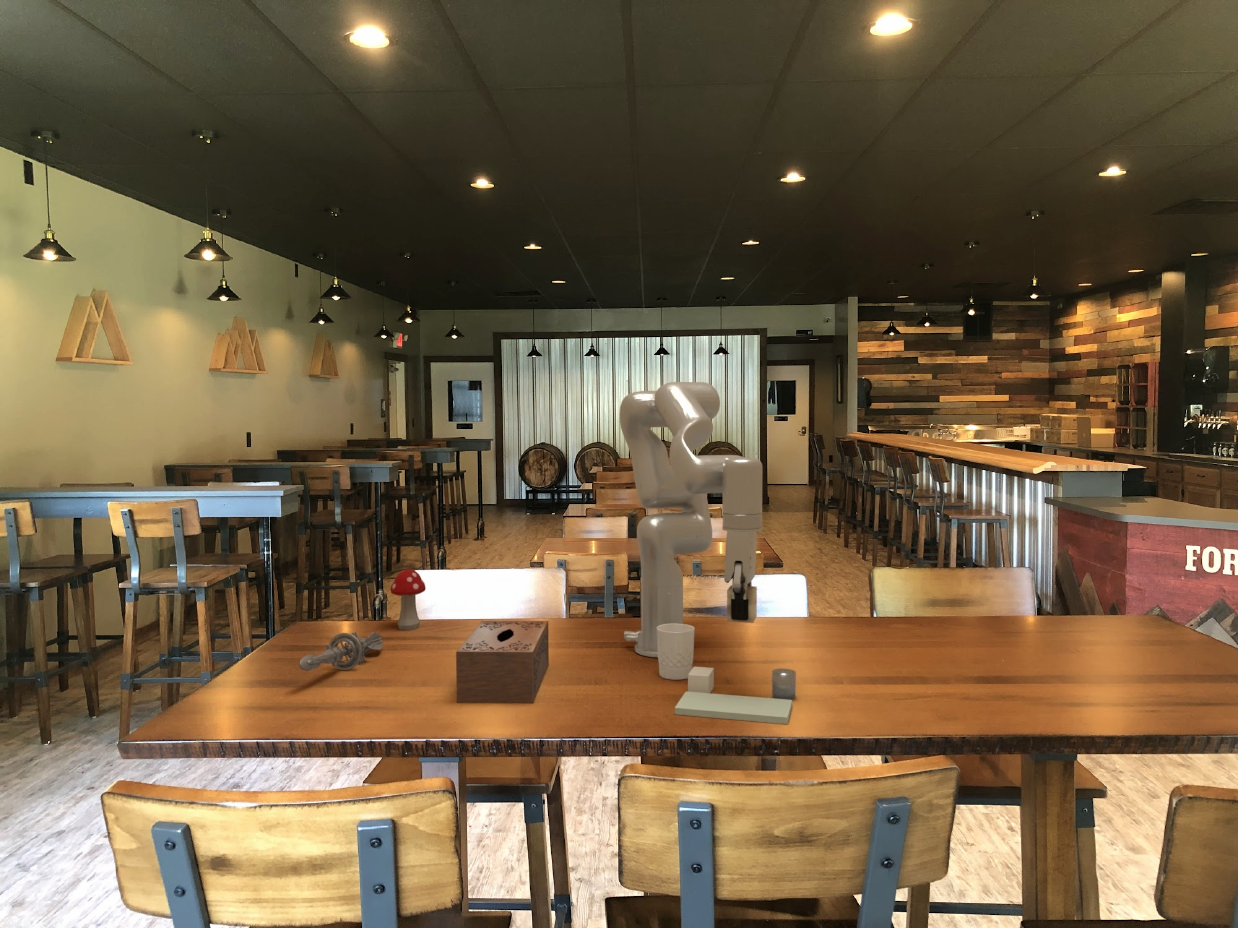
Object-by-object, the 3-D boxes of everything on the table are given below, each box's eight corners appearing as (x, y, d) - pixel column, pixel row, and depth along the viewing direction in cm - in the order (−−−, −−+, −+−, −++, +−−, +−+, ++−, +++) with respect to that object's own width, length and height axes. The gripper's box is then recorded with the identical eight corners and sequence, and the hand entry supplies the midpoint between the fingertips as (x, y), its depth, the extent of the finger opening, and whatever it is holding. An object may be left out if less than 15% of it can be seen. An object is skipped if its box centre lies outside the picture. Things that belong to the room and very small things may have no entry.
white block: (687, 695, 171) (687, 674, 171) (693, 686, 177) (693, 666, 177) (708, 696, 170) (708, 676, 170) (713, 687, 176) (713, 667, 176)
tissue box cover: (482, 666, 193) (481, 620, 192) (548, 666, 192) (548, 620, 192) (456, 704, 167) (456, 651, 166) (533, 704, 166) (532, 652, 166)
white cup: (698, 671, 187) (698, 624, 186) (689, 682, 179) (689, 633, 179) (662, 668, 189) (662, 622, 189) (651, 678, 182) (651, 630, 181)
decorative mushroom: (400, 622, 233) (399, 565, 232) (431, 623, 232) (430, 566, 231) (385, 631, 223) (384, 572, 223) (417, 632, 222) (417, 573, 221)
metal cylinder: (770, 700, 168) (771, 673, 168) (773, 693, 172) (773, 667, 172) (794, 702, 167) (794, 675, 166) (796, 695, 171) (796, 669, 171)
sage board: (674, 714, 160) (674, 707, 160) (685, 697, 169) (685, 691, 169) (787, 724, 154) (787, 717, 154) (792, 706, 164) (792, 699, 164)
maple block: (726, 621, 169) (727, 590, 169) (730, 615, 174) (731, 585, 173) (753, 622, 168) (753, 591, 167) (756, 617, 172) (756, 586, 172)
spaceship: (276, 652, 173) (311, 638, 172) (360, 630, 207) (389, 618, 206) (289, 691, 172) (324, 677, 171) (371, 662, 206) (401, 650, 205)
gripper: (729, 516, 179) (729, 606, 180) (715, 527, 163) (715, 625, 163) (767, 518, 177) (766, 608, 178) (756, 528, 161) (756, 627, 161)
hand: (741, 615), depth 171 cm, fingers closed on maple block, 4 cm apart
